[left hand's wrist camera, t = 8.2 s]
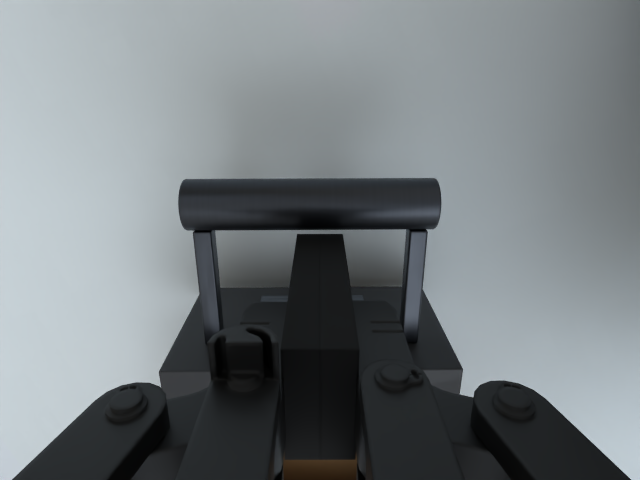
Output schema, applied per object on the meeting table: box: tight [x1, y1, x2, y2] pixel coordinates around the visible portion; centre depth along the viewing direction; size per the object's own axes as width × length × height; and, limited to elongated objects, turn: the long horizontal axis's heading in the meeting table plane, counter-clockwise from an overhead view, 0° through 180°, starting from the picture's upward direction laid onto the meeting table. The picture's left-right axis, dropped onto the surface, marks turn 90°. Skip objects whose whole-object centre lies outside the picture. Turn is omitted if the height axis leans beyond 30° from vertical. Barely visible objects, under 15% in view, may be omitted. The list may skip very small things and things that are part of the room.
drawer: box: [159, 178, 463, 480], centre depth 19 cm, size 23×10×6 cm, turn 0°
